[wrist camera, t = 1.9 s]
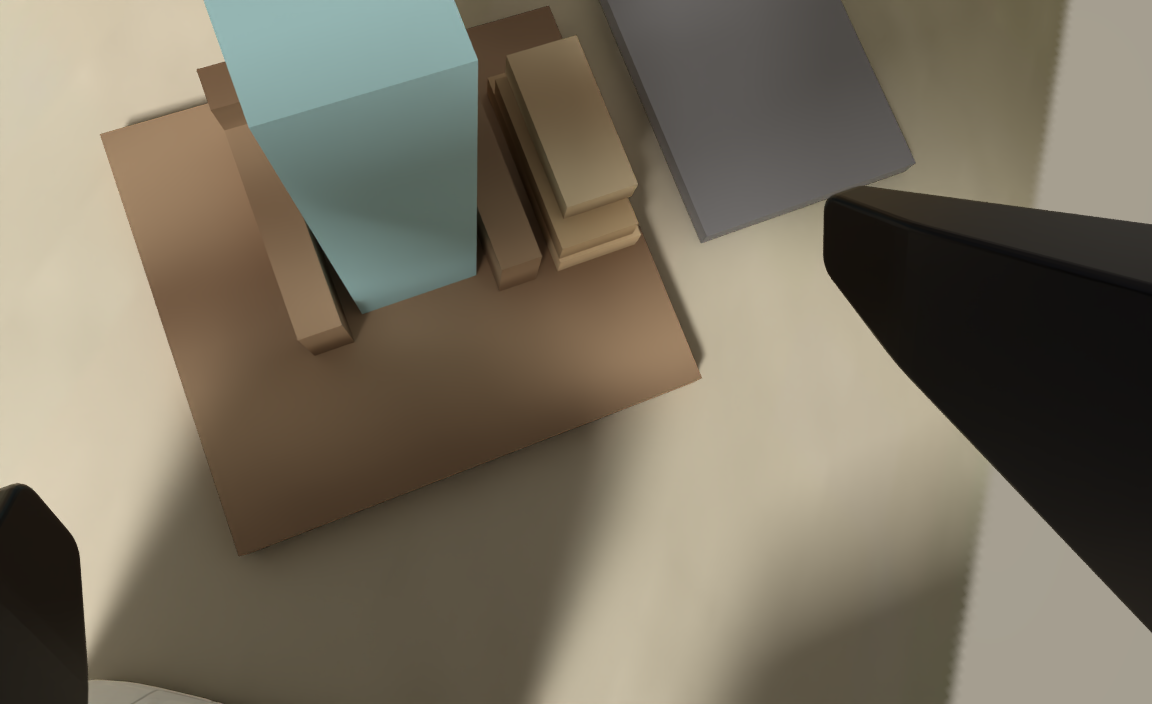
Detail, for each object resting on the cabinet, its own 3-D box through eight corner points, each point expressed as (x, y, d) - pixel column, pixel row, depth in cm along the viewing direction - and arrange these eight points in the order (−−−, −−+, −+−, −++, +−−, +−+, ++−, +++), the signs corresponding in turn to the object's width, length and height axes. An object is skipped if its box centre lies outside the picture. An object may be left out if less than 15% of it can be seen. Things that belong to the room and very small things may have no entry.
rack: (693, 381, 22) (738, 358, 18) (247, 554, 20) (196, 566, 16) (546, 22, 23) (560, -69, 20) (113, 147, 21) (37, 72, 17)
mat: (904, 170, 24) (916, 163, 23) (701, 243, 23) (707, 236, 22) (795, -67, 25) (803, -81, 24) (595, -10, 24) (598, -22, 23)
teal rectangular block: (476, 275, 21) (477, 60, 11) (362, 314, 20) (248, 127, 10) (423, 135, 21) (375, -200, 11) (309, 169, 21) (151, -148, 11)
